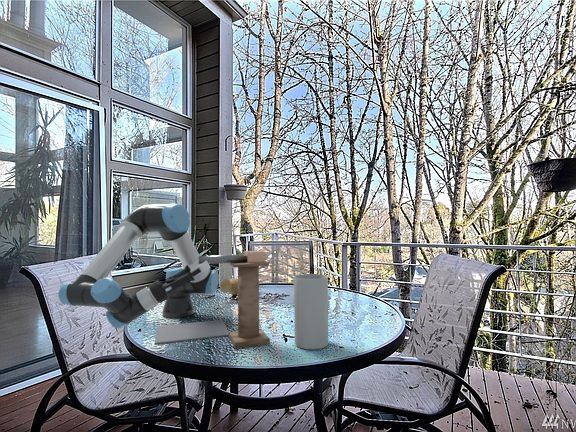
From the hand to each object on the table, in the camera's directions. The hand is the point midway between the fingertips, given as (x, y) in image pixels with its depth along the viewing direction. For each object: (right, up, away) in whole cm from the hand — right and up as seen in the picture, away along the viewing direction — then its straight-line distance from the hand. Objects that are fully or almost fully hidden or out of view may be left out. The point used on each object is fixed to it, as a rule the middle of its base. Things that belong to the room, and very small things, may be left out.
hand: (207, 262), depth 124 cm
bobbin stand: (+15, -31, +5) cm, 35 cm away
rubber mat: (-10, -31, +16) cm, 37 cm away
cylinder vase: (+39, -31, 0) cm, 49 cm away
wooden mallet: (+9, -1, +4) cm, 9 cm away
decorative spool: (0, -33, +82) cm, 88 cm away
